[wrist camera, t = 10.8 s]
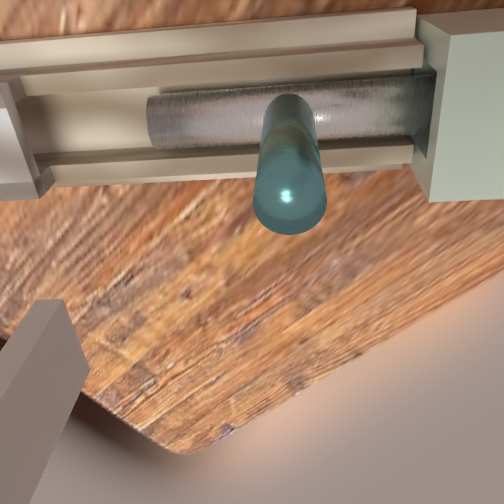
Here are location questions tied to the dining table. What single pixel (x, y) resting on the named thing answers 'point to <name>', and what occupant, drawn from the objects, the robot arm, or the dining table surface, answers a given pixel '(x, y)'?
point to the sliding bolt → (291, 132)
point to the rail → (182, 80)
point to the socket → (462, 106)
